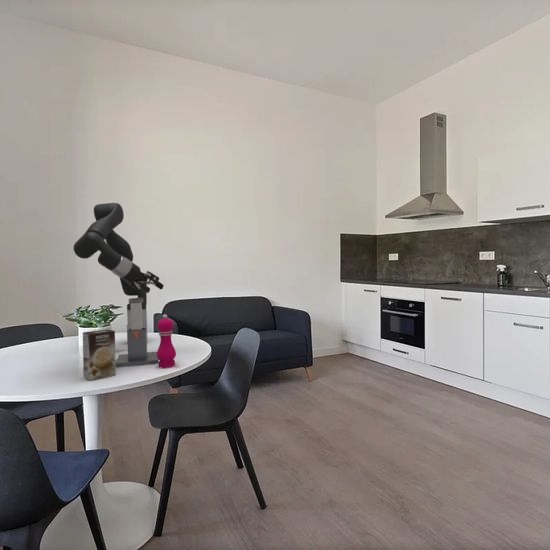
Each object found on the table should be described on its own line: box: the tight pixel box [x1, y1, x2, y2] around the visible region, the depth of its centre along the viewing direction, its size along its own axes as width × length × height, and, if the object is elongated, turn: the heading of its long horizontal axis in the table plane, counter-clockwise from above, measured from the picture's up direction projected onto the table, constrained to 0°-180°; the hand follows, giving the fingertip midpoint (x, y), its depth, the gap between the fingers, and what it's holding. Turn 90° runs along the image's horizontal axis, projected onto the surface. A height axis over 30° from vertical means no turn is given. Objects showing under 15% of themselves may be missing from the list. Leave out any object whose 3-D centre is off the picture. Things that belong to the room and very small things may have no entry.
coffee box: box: [82, 329, 117, 381], centre depth 140 cm, size 9×6×16 cm
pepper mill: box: [156, 314, 177, 369], centre depth 152 cm, size 7×7×20 cm
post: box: [128, 297, 143, 331], centre depth 161 cm, size 6×6×24 cm
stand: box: [116, 327, 159, 368], centre depth 162 cm, size 16×16×13 cm
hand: (155, 289), depth 165 cm, fingers open, 8 cm apart
